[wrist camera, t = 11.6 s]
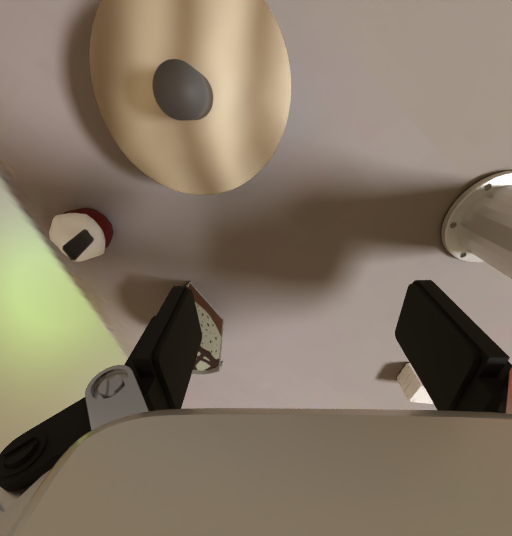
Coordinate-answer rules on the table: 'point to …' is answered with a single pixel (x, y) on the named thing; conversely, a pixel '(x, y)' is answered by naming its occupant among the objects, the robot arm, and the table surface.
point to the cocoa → (81, 233)
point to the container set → (413, 385)
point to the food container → (207, 335)
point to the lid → (191, 88)
